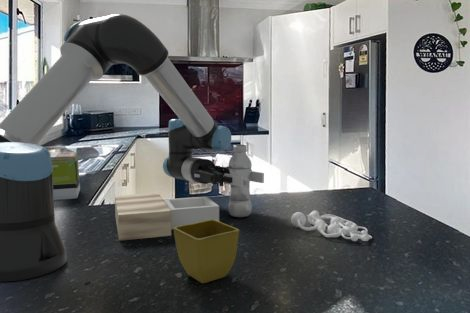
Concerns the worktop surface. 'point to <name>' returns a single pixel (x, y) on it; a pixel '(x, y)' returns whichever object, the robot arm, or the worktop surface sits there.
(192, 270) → the flower pot
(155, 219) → the beige rectangular block
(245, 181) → the plastic bottle
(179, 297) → the worktop surface
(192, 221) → the frame
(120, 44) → the robot arm
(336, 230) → the tangled rod sculpture
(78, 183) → the tea box
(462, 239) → the worktop surface
